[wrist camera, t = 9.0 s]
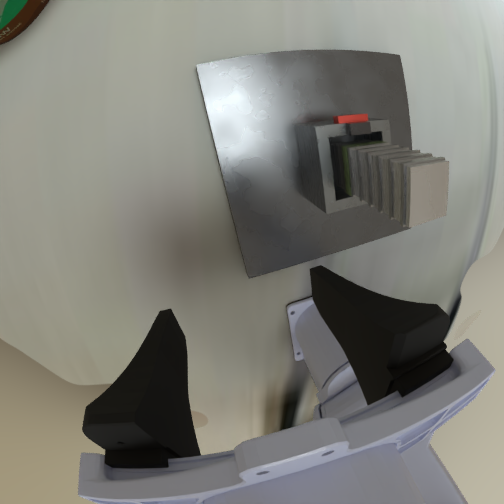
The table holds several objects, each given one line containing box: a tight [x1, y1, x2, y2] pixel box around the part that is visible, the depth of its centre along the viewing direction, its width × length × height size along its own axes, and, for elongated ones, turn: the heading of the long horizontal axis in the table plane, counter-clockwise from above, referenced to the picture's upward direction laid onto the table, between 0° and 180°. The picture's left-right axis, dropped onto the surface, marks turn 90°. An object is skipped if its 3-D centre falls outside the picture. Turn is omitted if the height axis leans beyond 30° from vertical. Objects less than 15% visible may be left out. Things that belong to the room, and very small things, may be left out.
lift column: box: [330, 139, 449, 228], centre depth 14 cm, size 3×3×8 cm
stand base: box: [196, 50, 412, 278], centre depth 19 cm, size 18×18×6 cm
